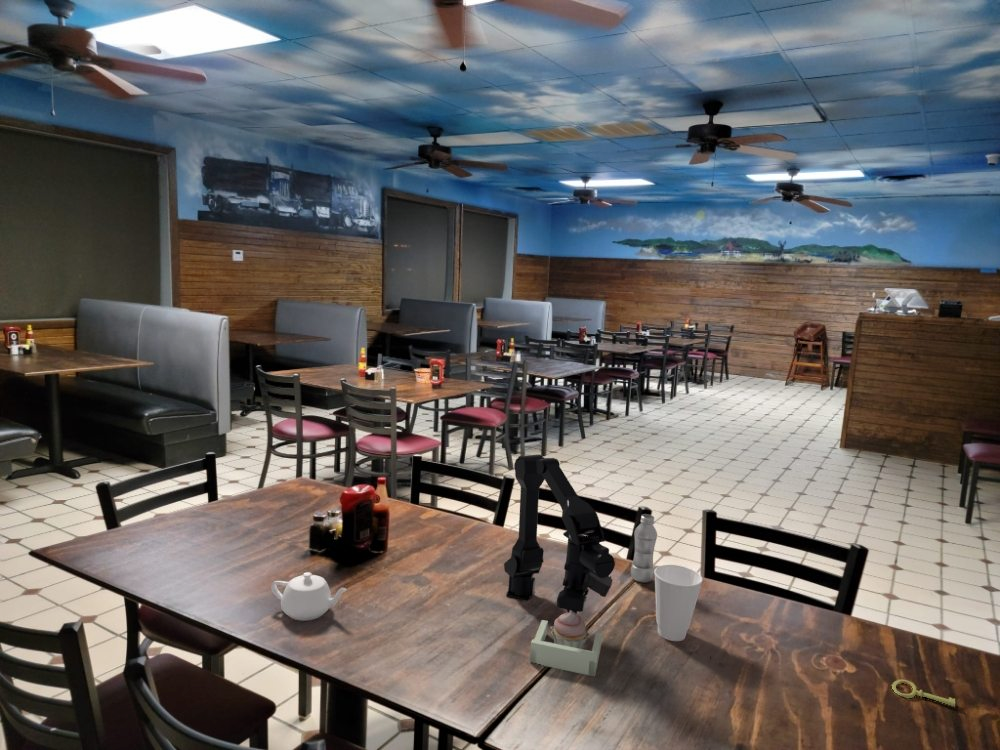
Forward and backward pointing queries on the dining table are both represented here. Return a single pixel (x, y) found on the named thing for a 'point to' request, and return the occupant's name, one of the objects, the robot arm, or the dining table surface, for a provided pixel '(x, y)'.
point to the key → (922, 693)
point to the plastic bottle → (644, 550)
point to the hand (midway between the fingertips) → (572, 619)
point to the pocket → (564, 653)
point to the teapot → (306, 596)
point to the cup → (675, 599)
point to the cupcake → (570, 630)
